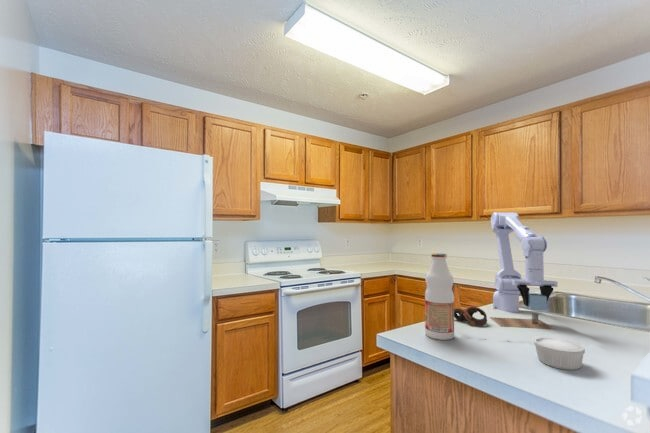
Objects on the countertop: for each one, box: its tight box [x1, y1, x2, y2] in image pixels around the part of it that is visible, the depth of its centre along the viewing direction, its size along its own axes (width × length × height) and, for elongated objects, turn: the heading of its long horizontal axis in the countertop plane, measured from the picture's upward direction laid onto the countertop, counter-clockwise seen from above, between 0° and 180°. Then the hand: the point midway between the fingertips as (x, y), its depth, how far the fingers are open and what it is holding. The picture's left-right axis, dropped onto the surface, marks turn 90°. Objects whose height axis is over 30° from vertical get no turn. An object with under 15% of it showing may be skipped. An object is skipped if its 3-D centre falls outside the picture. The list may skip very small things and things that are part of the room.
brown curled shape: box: [454, 306, 488, 328], centre depth 120 cm, size 12×10×8 cm
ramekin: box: [534, 337, 586, 371], centre depth 88 cm, size 11×11×5 cm
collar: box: [523, 292, 548, 311], centre depth 119 cm, size 5×5×5 cm
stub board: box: [489, 312, 556, 330], centre depth 119 cm, size 18×12×5 cm, turn 81°
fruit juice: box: [424, 252, 455, 341], centre depth 109 cm, size 9×9×28 cm
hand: (534, 305), depth 119 cm, fingers closed on collar, 5 cm apart
